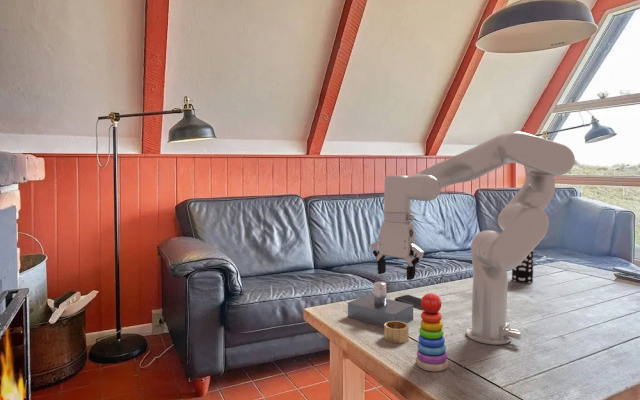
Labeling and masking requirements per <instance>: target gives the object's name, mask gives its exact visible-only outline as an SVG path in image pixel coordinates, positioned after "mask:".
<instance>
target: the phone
mask: <svg viewBox="0 0 640 400" xmlns="http://www.w3.org/2000/svg"><path fill="white" fill-rule="evenodd" d="M421 299H422V298H420V297H417V296H413V295H410V294H405V295H400V296H397V297H394V301H399V302H403V303H407V304H411V305H413V308H416V309H419V310H422V311H424V310H423V309H422V307H421Z"/></svg>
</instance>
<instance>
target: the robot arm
mask: <svg viewBox="0 0 640 400" xmlns="http://www.w3.org/2000/svg"><path fill="white" fill-rule="evenodd" d="M575 162H576V159H575V154H574V152H573V150H572V149H571V148H570V147H568V146H567V145H565V144H562V143H560V142H556V141H553V140H549V139H547V138H544V137H540V136H537V135H534V134H531V133H526V132H523V131H513V132H506V133H502V134H500V135H497V136H495V137H492V138H491V139H488V140H486V141H484V142H481V143H480V144H478V145H475V146H474V147H470V149H467V150H465V151H463V152H460V153H459V154H456V155H454V156H452V157H450V158H448V159H446V160H444V161H441V162H438V163H436V164H434V165H432V166H430V167H427V168H425V169H423V170H421V171H419V172H417V173H414V174H413V175H412V176H410V175H409V176H408V175H406V174H404V175H403V174H401V175H400V174H391V175H390V174H389V175H387V176H385V178H384V186H383V188H384V190H383V191H384V192H383V194H384V195H383V196H384V197H383V221H382V222H381V226H380V230H379V237H378V240H377V241H376V242H372V243H371V244H370V248H371V250H372V254H373V255H374V257H375V260H376V262H377V274H378V275H382V274H385V273H386V267H387V260H386V259H385V258H386V257H391V258H397V259H404V260H405V262H406V263H407V266H406V280H408V281H411V280H413V279H415V276H416V266H417V265H418V263H420V262H421V261H422V258H423V257H424V255H425V251H424V250H422V249H421V248H420V247H419V246H417V244H416V234H415V227H414V223H413V222H411V221H413V220H415V216H414V215H412V212H411V203H412V202H411V201H412V200H413V201H414V200H415V201H420V202H431V201H434V200H435V199H437V198H438V197H439V196H440V194H441V189H443V188H446V187H449V186H452V185H455V184H460V183H462V184H463V183H466V182H470V181H474V180H477V179H479V178H481V177H483V176H485V175H487V174H490V173H491V172H493V171H496V170H498V169H501V168H502V167H504V166H506V165H509V164H519V165H522V166H523V168H524V172H525V179H524V183H523V185H522V186H521V188H520V189H519V191H517V193H516V194H515V195H514V196H513V197H512V198H511V200H510V201H509V202H508V203H507V204H506V205H505V206H504V208H503V209H502V210H500V213H498V216H497V223H498V226H499V228H500V229H501V230H502V232H498V231H495V230H489V229H487V230H482V231H479V232H478V233H477V234H476V235H474V237H473V238H472V241H471V245H470V253H471V255H470V256H471V261H472V262H471V263H472V294H471V295H472V300H471V301H472V303H471V305H472V307H471V326H469V327H467V328H466V329H465V334H466V336H467V337H468V338H469V339H471V340H473V341H475V342H477V343H481V344H484V345H485V344H486V345H497V346H499V345H505V344H508V343H510V342H512V339H515V340H521V339H522V332H520V330H519V329H513V328H511V327H510V322H507V314H508V313H507V310H508V307H507V306H508V284H509V283H508V281H509V279H508V271H512V269H514V268H516V267H517V266H518V265H519V264H521V263H522V262H523V260H524V259H525V258H526V257H527V256H528V255H529V254H530V253H531V251H532V250H533V249H534V250H535V248H536V247H537V246H538V245H539V244H540V242H541V241H542V240H543V239H544V237H546V234H547V232H548V231H549V226H550V220H549V216H548V213H547V212H546V211H545V209H546V208H547V207H548V205H549V204H550V202H551V201H552V199H553V198H554V195H555V193H556V189H555V188H556V184H555V183H556V181H555V180H556V179H555V177H558V176H563V175H565V174H567V173H569V172H570V171H571V170H572V168H573V167H574V166H575Z"/></svg>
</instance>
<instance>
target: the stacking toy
mask: <svg viewBox="0 0 640 400" xmlns="http://www.w3.org/2000/svg"><path fill="white" fill-rule="evenodd" d="M420 299H421V307H422V309H423V310H422V312H421V314H420V317H421V321H420V324H419V325H420V328H419V329H418V332H419V335H418V342H417V350H416V355H417V356H416V358H415V363H416V366H418V367H419V368H420V369H422V370H425V371H429V372H442V371H445V370H446V369H447V368H448V366H449V362H448V361H449V360H448V352H447V347H446V344H445V342H446V340H445V337H444V330H443V327H444V324H443V321H442V318H443V317H442V314H441V312H439V311H440V310H441V308H442V300H441V298H440V297H439V296H438V295H437V294H436V293H433V292H431V293H430V292H429V293H426V294H424V295H423V296H422V297H421V298H420Z"/></svg>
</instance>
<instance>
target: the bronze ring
mask: <svg viewBox="0 0 640 400" xmlns="http://www.w3.org/2000/svg"><path fill="white" fill-rule="evenodd" d="M409 328H410V327H409V324H408V323H404V322H401V321H389V322H386V323H385V324H384V327H383V339H384V340H385V341H386V342H389V343H391V344H405V343H407V342H409Z"/></svg>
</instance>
